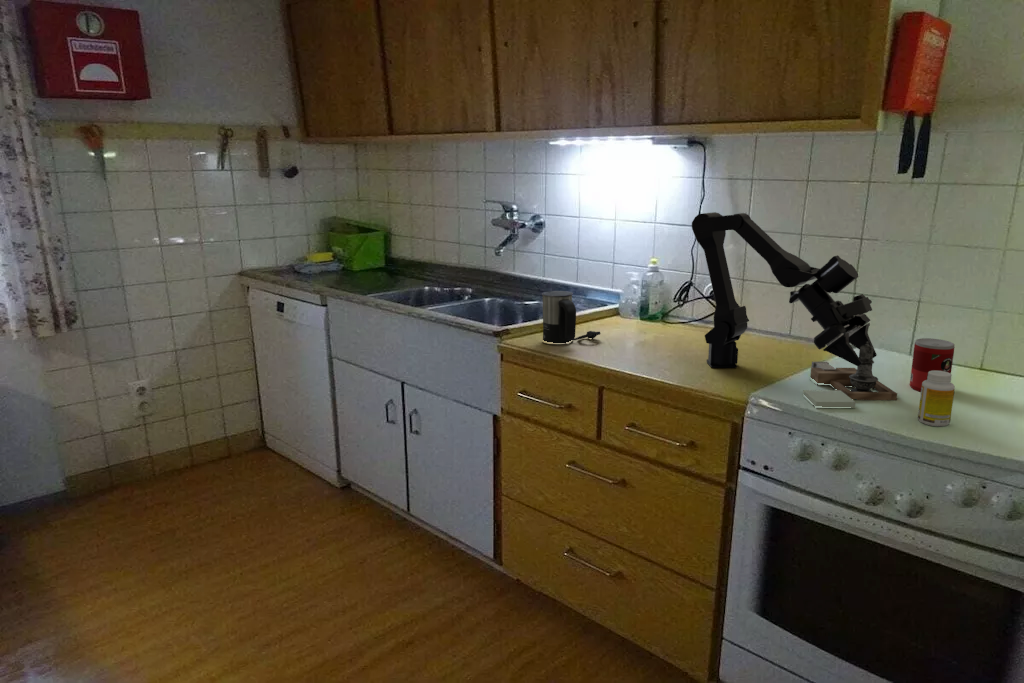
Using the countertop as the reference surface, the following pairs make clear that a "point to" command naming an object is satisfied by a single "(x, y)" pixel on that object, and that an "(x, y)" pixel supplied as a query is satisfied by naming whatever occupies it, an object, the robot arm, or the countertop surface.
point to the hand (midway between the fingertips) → (867, 360)
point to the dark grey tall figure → (864, 371)
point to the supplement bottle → (936, 399)
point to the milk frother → (560, 318)
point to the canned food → (930, 359)
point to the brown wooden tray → (842, 379)
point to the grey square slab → (829, 398)
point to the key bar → (823, 366)
